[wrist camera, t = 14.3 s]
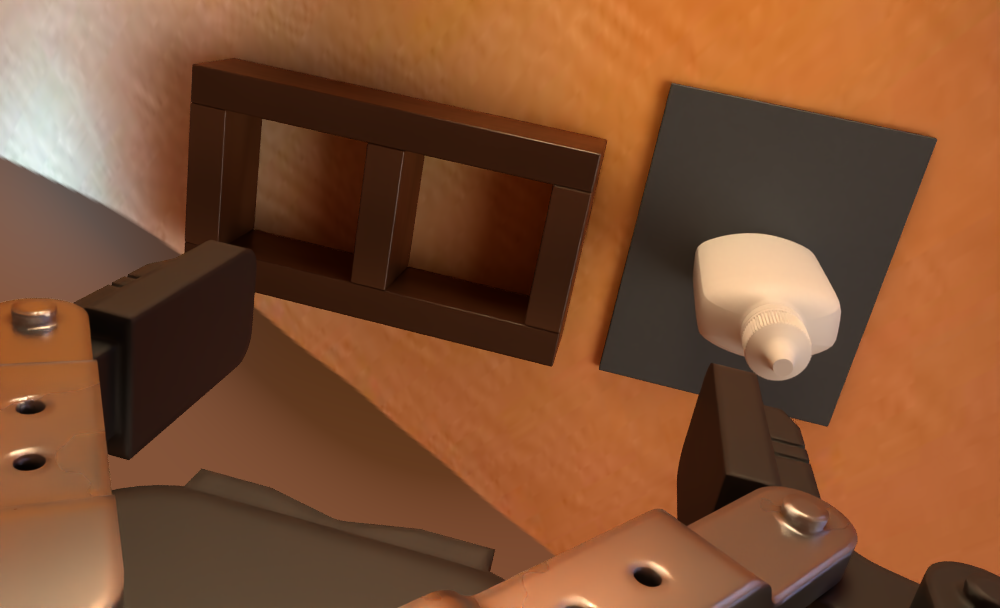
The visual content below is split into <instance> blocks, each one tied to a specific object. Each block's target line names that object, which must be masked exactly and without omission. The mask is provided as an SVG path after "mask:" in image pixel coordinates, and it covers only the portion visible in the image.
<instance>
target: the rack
mask: <svg viewBox="0 0 1000 608" xmlns="http://www.w3.org/2000/svg"><path fill="white" fill-rule="evenodd" d="M191 102H192V103H191V108H190V132H189V156H188V180H187V204H186V228H185V253H186V252H187V251H189V250H191V249H193V248H195V247H197V246H199V245H200V244H202V243H204V242H206V241H208V240H215V241H219V242H223V243H227V244H231V245H235V246H239V247H243V248H247V249H251V250H252V251H253V252H254V253H255V256H256V262H257V268H256V282H255V292H256V293H260V294H264V295H268V296H272V297H276V298H280V299H284V300H288V301H292V302H296V303H300V304H304V305H308V306H312V307H316V308H320V309H324V310H328V311H332V312H336V313H340V314H344V315H348V316H352V317H356V318H360V319H364V320H368V321H372V322H376V323H380V324H384V325H388V326H392V327H396V328H400V329H404V330H408V331H412V332H416V333H420V334H424V335H428V336H432V337H436V338H440V339H444V340H448V341H452V342H456V343H460V344H464V345H468V346H472V347H475V348H479V349H483V350H487V351H491V352H495V353H499V354H503V355H507V356H511V357H515V358H519V359H523V360H527V361H531V362H535V363H539V364H543V365H547V366H553V363H554V360H555V357H556V353H557V350H558V347H559V344H560V341H561V337H562V334H563V330H564V325H565V321H566V317H567V312H568V308H569V304H570V299H571V295H572V291H573V286H574V282H575V278H576V273H577V269H578V265H579V260H580V256H581V252H582V248H583V243H584V239H585V235H586V230H587V226H588V222H589V217H590V213H591V209H592V204H593V200H594V196H595V192H596V187H597V183H598V179H599V174H600V170H601V166H602V161H603V157H604V153H605V148H606V144H607V140H606V139H601V138H596V137H592V136H587V135H583V134H578V133H574V132H569V131H564V130H560V129H555V128H551V127H546V126H542V125H537V124H532V123H528V122H523V121H519V120H514V119H510V118H505V117H500V116H496V115H491V114H487V113H482V112H478V111H473V110H468V109H464V108H459V107H455V106H450V105H446V104H441V103H436V102H432V101H427V100H423V99H418V98H414V97H409V96H405V95H400V94H395V93H391V92H386V91H382V90H377V89H373V88H368V87H363V86H359V85H354V84H350V83H345V82H341V81H336V80H331V79H327V78H322V77H318V76H313V75H309V74H304V73H299V72H295V71H290V70H286V69H281V68H277V67H272V66H267V65H263V64H258V63H254V62H249V61H245V60H240V59H235V58H232V59H225V60H218V61H212V62H205V63H198V64H193V67H192V90H191ZM262 119H266V120H271V121H275V122H280V123H284V124H288V125H293V126H297V127H302V128H306V129H311V130H315V131H319V132H324V133H328V134H333V135H337V136H342V137H346V138H350V139H355V140H359V141H364V142H368V144H367V152H366V161H365V169H364V177H363V185H362V193H361V201H360V209H359V217H358V226H357V234H356V242H355V250H354V254H353V253H348V252H344V251H340V250H336V249H332V248H328V247H324V246H320V245H315V244H311V243H307V242H303V241H299V240H295V239H291V238H286V237H282V236H278V235H274V234H270V233H266V232H262V231H258V230H253V229H254V221H255V207H256V194H257V180H258V167H259V153H260V140H261V126H262ZM424 156H430V157H434V158H439V159H443V160H448V161H452V162H456V163H461V164H465V165H470V166H474V167H478V168H483V169H487V170H492V171H496V172H501V173H505V174H509V175H514V176H518V177H523V178H527V179H531V180H536V181H540V182H545V183H549V184H554V185H553V188H552V193H551V198H550V202H549V207H548V212H547V217H546V221H545V226H544V231H543V236H542V240H541V245H540V250H539V254H538V259H537V264H536V269H535V273H534V278H533V283H532V288H531V292H530V296H526V295H522V294H518V293H514V292H510V291H505V290H501V289H497V288H493V287H489V286H485V285H481V284H477V283H472V282H468V281H464V280H460V279H456V278H452V277H448V276H443V275H439V274H435V273H431V272H427V271H423V270H419V269H415V268H410V267H408V263H409V256H410V250H411V243H412V236H413V230H414V223H415V216H416V210H417V203H418V196H419V190H420V183H421V176H422V170H423V163H424Z"/></svg>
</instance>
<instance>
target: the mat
mask: <svg viewBox="0 0 1000 608" xmlns="http://www.w3.org/2000/svg"><path fill="white" fill-rule="evenodd" d="M936 142H937V139H936V138H933V137H928V136H923V135H919V134H914V133H909V132H904V131H900V130H895V129H890V128H885V127H881V126H876V125H871V124H866V123H861V122H857V121H852V120H847V119H842V118H838V117H833V116H828V115H823V114H818V113H814V112H809V111H804V110H799V109H795V108H790V107H785V106H780V105H776V104H771V103H766V102H761V101H756V100H752V99H747V98H742V97H737V96H733V95H728V94H723V93H718V92H713V91H709V90H704V89H699V88H694V87H690V86H685V85H680V84H675V83H672V84H671V87H670V91H669V95H668V99H667V103H666V107H665V111H664V115H663V119H662V123H661V127H660V131H659V135H658V138H657V142H656V146H655V150H654V154H653V158H652V162H651V166H650V170H649V174H648V178H647V182H646V186H645V190H644V193H643V197H642V201H641V205H640V209H639V213H638V217H637V221H636V225H635V229H634V233H633V237H632V241H631V245H630V248H629V252H628V256H627V260H626V264H625V268H624V272H623V276H622V280H621V284H620V288H619V292H618V296H617V300H616V304H615V307H614V311H613V315H612V319H611V323H610V327H609V331H608V335H607V339H606V343H605V347H604V351H603V355H602V359H601V362H600V366H599V370H603V371H607V372H611V373H615V374H619V375H623V376H627V377H631V378H635V379H639V380H643V381H647V382H651V383H655V384H659V385H663V386H667V387H671V388H675V389H679V390H683V391H687V392H691V393H695V394H699V393H700V390H701V387H702V383H703V380H704V377H705V374H706V372H707V369H708V367H709V365H710V364H711V363H715V364H719V365H723V366H727V367H731V368H735V369H739V370H743V371H747V372H752V373H755V372H753V370H751V368H750V367H749V365H748V364H747V362H746V359H745V357H744V356H741V355H738V354H735V353H732V352H729V351H727V350H725V349H722V348H720V347H718V346H716V345H714V344H713V343H711V342H709V341H708V340H706V339H705V338H704V337H703V336H702V335H701V334H700V332H699V330H698V326H697V319H696V311H695V300H694V289H693V268H694V259H695V252H696V250H697V247H698V246H699V245H701V244H702V243H703V242H705V241H708V240H710V239H714V238H717V237H721V236H726V235H732V234H742V233H757V234H766V235H772V236H776V237H780V238H784V239H787V240H790V241H792V242H795V243H797V244H799V245H802V246H804V247H805V248H807V249H809V250H810V251H811V252H812V253H813V254H814V255H815V257H816V259H817V260H818V262H819V264H820V266H821V268H822V269H823V271H824V273H825V275H826V277H827V278H828V280H829V282H830V284H831V286H832V288H833V290H834V291H835V293H836V296H837V298H838V300H839V303H840V308H841V317H840V323H839V329H838V334H837V338H836V341H835V342H834V344H833V346H831V347H830V348H828V349H827V350H825V351H822V352H820V353H817V354H814V355H811V356H812V357H811V358H810V359H811V360H810V361H809V363H808V364H807V365H808V366H806V368H805V369H803V371H801V373H799V374H798V375H796V376H795V377H792V378H789V379H786V380H782V381H781V380H779V381H777V380H776V381H774V380H768V379H764V378H763V377H761V376H758V374H756V373H755V374H756V375H757V379H758V383H759V387H760V392H761V396H762V401H763V405H766V406H770V407H774V408H778V409H782V410H783V411H784V412H785V413H786V414H787V415H788V416H789V417H791V418H795V419H799V420H803V421H807V422H811V423H815V424H819V425H823V426H828V425H829V422H830V419H831V417H832V414H833V412H834V409H835V406H836V404H837V401H838V398H839V396H840V393H841V391H842V388H843V385H844V383H845V380H846V377H847V375H848V372H849V370H850V367H851V364H852V362H853V359H854V357H855V354H856V351H857V349H858V346H859V343H860V341H861V338H862V336H863V333H864V330H865V328H866V325H867V322H868V320H869V317H870V315H871V312H872V309H873V307H874V304H875V302H876V299H877V296H878V294H879V291H880V288H881V286H882V283H883V281H884V278H885V275H886V273H887V270H888V267H889V265H890V262H891V260H892V257H893V254H894V252H895V249H896V247H897V244H898V241H899V239H900V236H901V233H902V231H903V228H904V226H905V223H906V220H907V218H908V215H909V212H910V210H911V207H912V205H913V202H914V199H915V197H916V194H917V192H918V189H919V186H920V184H921V181H922V178H923V176H924V173H925V171H926V168H927V165H928V163H929V160H930V157H931V155H932V152H933V150H934V147H935V144H936Z"/></svg>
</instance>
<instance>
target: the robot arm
mask: <svg viewBox="0 0 1000 608" xmlns="http://www.w3.org/2000/svg"><path fill="white" fill-rule="evenodd" d="M256 268H257V262H256V256H255V253H254V252H253V251H252V250H251V249H247V248H243V247H239V246H235V245H231V244H227V243H223V242H219V241H215V240H208V241H206V242H204V243H202V244H200V245H199V246H197V247H195V248H193V249H191V250H189V251H187V252H186V253H184V254H182V255H180V256H178V257H176V258H174V259H169V260H165V261H160V262H156V263H151V264H147V265H145V266H143V267H141V268H139V269H137V270H136V271H134V272H132V273H130V274H128V277H122V278H120V279H118V280H116V281H115V282H112V285H107V286H105V287H103V288H101V289H99V290H97V291H95V292H93V293H92V294H89V295H88V296H86V297H84V298H82V299H80V300H78V301H76V302H74V303H70V302H67V301H63V300H58V299H49V298H24V299H16V300H10V301H6V302H2V303H0V608H1000V577H999V576H997V575H995V574H993V573H991V572H988V571H986V570H984V569H981V568H978V567H975V566H972V565H968V564H964V563H959V562H947V561H944V562H938V563H935V564H932V565H931V566H930V567H929V568H928V569H927V571H926V573H925V575H924V577H923V579H922V581H921V583H920V584H918V583H916V582H914V581H911V580H909V579H907V578H905V577H903V576H900V575H898V574H896V573H894V572H892V571H889V570H887V569H885V568H883V567H881V566H879V565H877V564H875V563H873V562H871V561H869V560H868V559H866V558H864V557H863V556H861V555H860V554H858V553H857V552H855V551H854V548H855V546H856V544H857V533H856V530H855V528H854V527H853V525H852V524H851V522H850V521H849V520H848V519H847V518H846V517H845V516H844V515H843V514H842V513H841V512H840V511H838V510H837V509H836V508H835V507H833V506H831V505H830V504H828V503H827V502H825V501H823V500H821V498H820V494H819V491H818V488H817V484H816V481H815V478H814V474H813V471H812V468H811V464H809V458H808V454H807V451H806V449H804V448H805V444H804V441H803V437H802V434H801V431H800V428H799V427H798V426H797V425H796V424H795V423H794V422H793V421H792V419H791V418H790V417H789V416H788V415H787V414H786V413H785V412H784V411H783V410H782V409H778V408H774V407H770V406H766V405H763V401H762V396H761V392H760V387H759V383H758V379H757V375H756V374H755V373H752V372H747V371H743V370H739V369H735V368H731V367H727V366H723V365H719V364H715V363H711V364H710V365H709V367H708V369H707V372H706V374H705V377H704V380H703V383H702V387H701V390H700V393H699V396H698V400H697V403H696V406H695V409H694V413H693V416H692V419H691V422H690V426H689V429H688V432H687V435H686V438H685V442H684V445H683V449H682V453H681V457H680V462H679V467H678V474H677V519H676V518H674V517H673V516H672V515H670V514H669V513H667V512H666V511H664V510H663V509H654V510H651V511H648V512H646V513H644V514H642V515H640V516H638V517H636V518H634V519H632V520H630V521H628V522H626V523H623V524H621V525H619V526H617V527H615V528H613V529H611V530H609V531H607V532H605V533H603V534H601V535H599V536H597V537H594V538H592V539H590V540H588V541H586V542H584V543H582V544H580V545H578V546H576V547H574V548H572V549H570V550H567V551H565V552H563V553H561V554H559V555H557V556H555V557H553V558H551V559H549V560H547V561H545V562H543V563H541V564H539V565H536V566H535V567H532V568H530V569H528V570H526V571H524V572H522V573H520V574H518V575H516V576H514V577H512V578H510V579H507V580H504V579H503V578H501V577H499V576H497V575H495V574H493V573H491V572H490V569H491V565H492V561H493V556H494V551H495V550H494V549H490V548H487V547H483V546H479V545H476V544H472V543H469V542H465V541H461V540H458V539H454V538H451V537H447V536H443V535H440V534H436V533H432V532H428V531H425V530H422V529H414V528H404V527H394V526H384V525H375V524H364V523H355V522H346V521H340V520H337V519H334V518H331V517H329V516H327V515H325V514H323V513H321V512H319V511H317V510H315V509H313V508H311V507H309V506H307V505H305V504H303V503H301V502H299V501H297V500H294V499H293V498H291V497H289V496H286V495H285V494H283V493H281V492H279V491H276V490H275V489H273V488H270V487H266V486H263V485H259V484H255V483H252V482H248V481H244V480H241V479H237V478H234V477H230V476H226V475H223V474H219V473H215V472H212V471H208V470H205V469H201V470H200V471H199V472H198V473H197V474H196V475H195V476H194V477H193V478H192V479H191V480H190V481H189V482H188V483H187V484H186V485H185V486H168V485H153V486H137V487H129V488H121V489H116V490H111V481H110V471H109V462H108V454H109V455H112V456H116V457H120V458H123V459H127V460H130V459H131V458H132V457H133V456H134V455H135V454H137V453H138V452H139V451H140V450H141V449H142V448H144V446H146V445H147V444H148V443H149V442H150V441H152V440H153V439H154V438H155V437H156V436H157V435H158V434H160V433H161V432H162V431H163V430H164V429H165V428H166V427H168V426H169V425H170V424H171V423H172V422H174V421H175V420H176V419H177V418H178V417H179V416H180V415H182V414H183V413H184V412H185V411H186V410H187V409H189V408H190V407H191V406H192V405H193V404H194V403H195V402H197V401H198V400H199V399H200V398H201V397H202V396H204V395H205V394H206V393H207V392H208V391H209V390H210V389H212V388H213V387H214V386H215V385H216V384H217V383H219V382H220V381H221V380H222V379H223V378H224V377H225V376H227V375H228V374H229V373H230V372H231V371H232V370H234V369H235V368H236V367H237V366H238V365H239V364H240V363H241V361H242V360H243V358H244V356H245V354H246V352H247V349H248V346H249V343H250V339H251V333H252V321H253V308H254V295H255V282H256Z"/></svg>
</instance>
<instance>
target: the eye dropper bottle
mask: <svg viewBox="0 0 1000 608" xmlns="http://www.w3.org/2000/svg"><path fill="white" fill-rule="evenodd" d="M693 289H694V300H695V311H696V319H697V326H698V330H699V332H700V334H701V335H702V336H703V337H704V338H705V339H706V340H708V341H709V342H711V343H713V344H714V345H716V346H718V347H720V348H722V349H725V350H727V351H729V352H732V353H735V354H738V355H741V356H744V357H745V359H746V362H747V364H748V365H749V367H750V368H751V370H753V372H755V373H756V374H758V376H761V377H763V378H764V379H768V380H774V381H776V380H777V381H779V380H781V381H782V380H786V379H789V378H792V377H795V376H796V375H798V374H799V373H801V371H803V369H805V368H806V366H808V365H807V364H808V363H809V361H810V360H811V359H810V358H811V357H812V356H811V355H814V354H817V353H820V352H822V351H825V350H827V349H828V348H830V347H831V346H833V344H834V342H835V341H836V338H837V334H838V329H839V323H840V317H841V308H840V303H839V300H838V298H837V296H836V293H835V291H834V290H833V288H832V286H831V284H830V282H829V280H828V278H827V277H826V275H825V273H824V271H823V269H822V268H821V266H820V264H819V262H818V260H817V259H816V257H815V255H814V254H813V253H812V252H811V251H810V250H809V249H807V248H805V247H804V246H802V245H799V244H797V243H795V242H792V241H790V240H787V239H784V238H780V237H776V236H772V235H766V234H757V233H742V234H732V235H726V236H721V237H717V238H714V239H710V240H708V241H705V242H703V243H702V244H701V245H699V246H698V247H697V250H696V252H695V259H694V268H693Z"/></svg>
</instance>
